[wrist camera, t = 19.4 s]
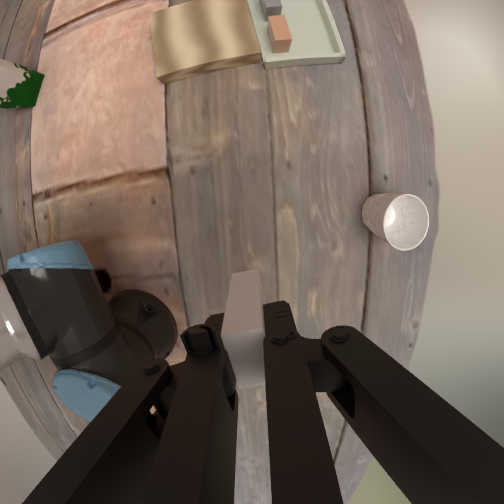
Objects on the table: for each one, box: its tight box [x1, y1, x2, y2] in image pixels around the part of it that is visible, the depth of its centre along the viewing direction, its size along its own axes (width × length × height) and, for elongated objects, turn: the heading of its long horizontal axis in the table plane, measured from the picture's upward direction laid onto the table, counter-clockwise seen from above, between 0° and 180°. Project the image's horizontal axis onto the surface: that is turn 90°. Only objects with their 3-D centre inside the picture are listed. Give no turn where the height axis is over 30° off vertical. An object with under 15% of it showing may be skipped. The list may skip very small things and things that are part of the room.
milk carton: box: [0, 59, 44, 109], centre depth 27 cm, size 9×9×20 cm
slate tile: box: [259, 0, 282, 22], centre depth 31 cm, size 5×5×2 cm
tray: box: [247, 0, 347, 70], centre depth 34 cm, size 13×17×3 cm
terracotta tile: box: [267, 15, 292, 54], centre depth 33 cm, size 5×5×2 cm
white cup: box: [361, 193, 429, 251], centre depth 39 cm, size 8×8×10 cm
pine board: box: [150, 0, 261, 84], centre depth 34 cm, size 16×14×4 cm
